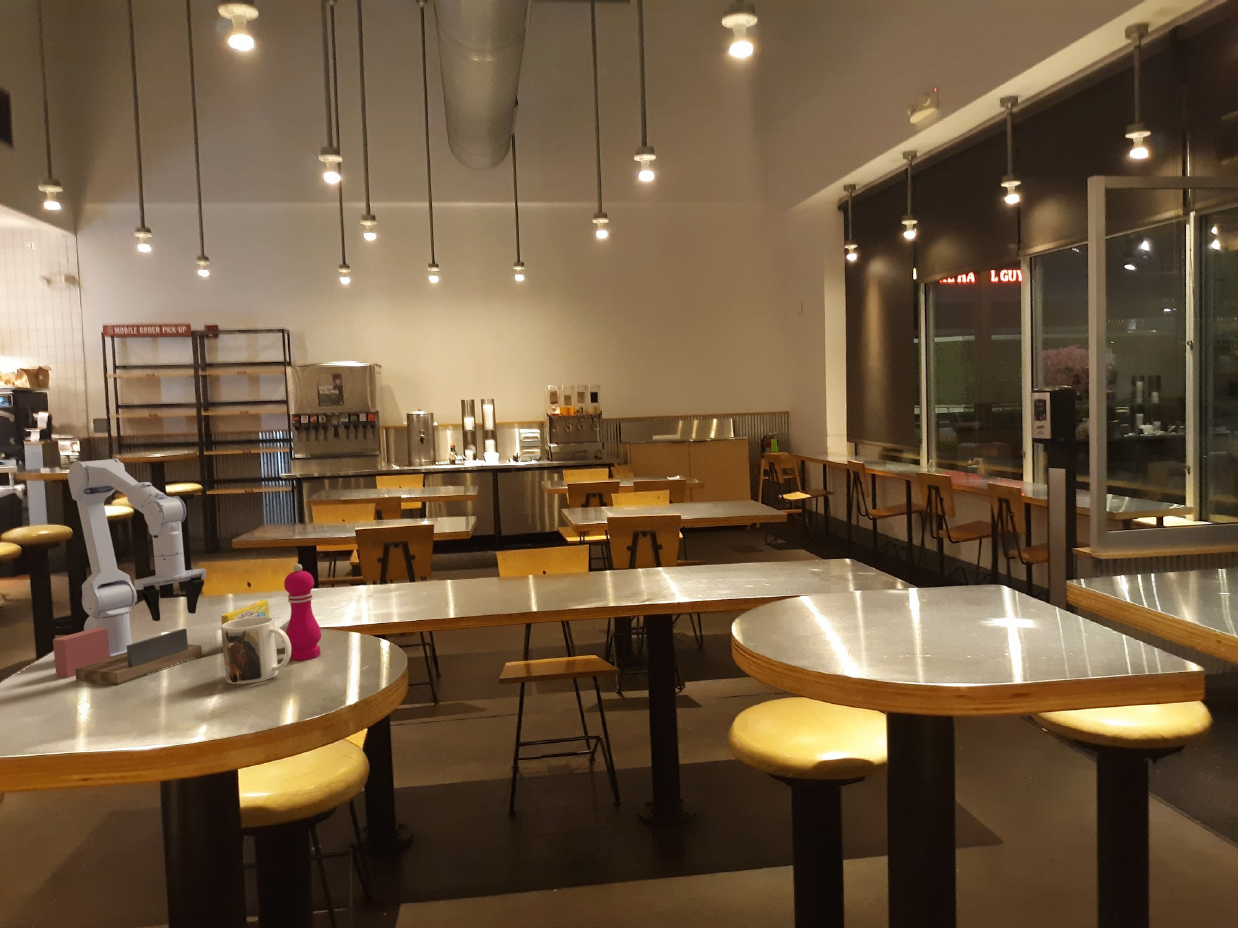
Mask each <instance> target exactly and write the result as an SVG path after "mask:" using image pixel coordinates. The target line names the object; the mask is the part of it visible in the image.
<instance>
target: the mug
mask: <svg viewBox="0 0 1238 928" xmlns="http://www.w3.org/2000/svg"><path fill="white" fill-rule="evenodd" d="M220 631H221V642H222V653H223V663H224V664H223V665H224V675H225V681H227V682H226V683H228V684H233V685H247V683H248V684H255V683H259V682H260V683H261V682H263V681H266V680H270V679H273V678H275V677H276V676H278V674H279V670H280V669H282V668H283V667H285V666H287V664H288V663H289V661H290V660H291V659H290V656H291V649H292V648H291V643H290V640H289V638H288V636H287V634H286V633H285V632H284V631H283V630H282V629H280V627H277V626H275V620H274V618H273V617H270V616H269V617H250V618H243V619H237V620H233V621H230V622H227V623H224V624H223V625H222V624H221V626H220ZM276 635H277V636H278V637H279V638H280V639H281V641H282V640H283V642H284V644H283V645H284V657H283V660H282V661H281V663H279V662H278V653H277V650H278V649H277V640H276ZM283 642H282V643H283ZM278 663H279V664H278Z"/></svg>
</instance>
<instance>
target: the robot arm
mask: <svg viewBox="0 0 1238 928" xmlns="http://www.w3.org/2000/svg"><path fill="white" fill-rule="evenodd" d="M67 480H68V485H69V490H70V494H71V498H72V499H73V501H76V504H77V508H78V513H79V518H80V522H81V523H80V524H81V527H82V531H83V536H84V541H85V542H84V543H85V546H86V552H87V557H88V561H89V565H90V570H91V575H89V576H88V578H87V579H86V580H85V581H84V582H83V583H82V585H81V591H82V592H81V593H82V597H81V604H82V608H83V611H85V613H86V614H87V615H88V617H87V618H86V620H85V623H84V626H83V631H86V630H90V629H94V628H107V631H108V641H109V652H110V658H113V657H116V656H120V655H123V654H126V653H127V646H126V645H130V644H133V641H132V632H131V623H130V621H131V620H130V613H129V612H132V611H133V610H132V608H133V607H134V606H135V604H136V602H137V597H138V596H137V591H138V593H139V595H140V597H141V598H142V599H143V602H145V604H146V607H147V608H148V610H149V613H150V615H151V619H152V621H154V622H160V621H161V613H160V594H161V590H160V589H158V588H157V587H159V586H165V585H170V584H175V583H176V584H177V583H181V582H182V584H183V587H184V590H185V591H184V592H185V597H186V608H187V613H189V614H193V615H194V614H196V612H197V611H196V610H197V604H198V601H199V598H200V597H199V596H200V594H201V592H202V589H203V587H204V585H205V578H207V569H206V568H196V569H189V570H186V565H185V554H184V543H183V542H184V541H183V532H182V530H183V529H182V523H183V522H184V521H185V519H186V517H187V508H186V504H185V503H184V501H183V500H182V499H181V498H180V496H178V495H175V496H167V495H166V494H165V493H164V492H162V491H160V490H159V489H157V488H156V487H155V486H153V483H151V482H150V481H141V482H138V481H137V480H136V479H135V478H134V477H133V476H131V475H130V474H129V473H128V472H127V471H126V467H125V464H124V463H123V462H121V461H120V460H119V459H118V458H113V457H112V458H109V459H101V460H100V459H99V460H97V459H96V460H88V461H86V460H85V461H79V460H78V461H74V462H73V463H72V464H71V465H70V467H69V470H68V473H67ZM116 490H117V491H119V492H120V493H122V494H124V495H126V500H127V502H128V503H129V505H131V506H132V507H133V508H135V509H136V510H138V512H140V513H142V514H143V516H144V521H145V522H146V524H147V526H148V532H149V534H150V535H151V536H152V545H153V547H152V548H153V557H154V558H153V559H154V568H155V569H154V571H155V575H152V576H148V577H147V576H146V577H144V578H139V579H134V580H133V583H132V581H131V577H130V574H128V573H125V572H124V571H123V570H120V569H118V564H117V559H116V555H115V550H114V546H113V541H112V536H111V532H110V527H109V523H108V517H107V513H106V508H105V505H104V504H105V501H106V499H107V498H109V496H112V494H113V493H115V491H116ZM105 584H108V585H105ZM101 585H103V586H101Z"/></svg>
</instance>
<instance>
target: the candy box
mask: <svg viewBox="0 0 1238 928" xmlns="http://www.w3.org/2000/svg"><path fill="white" fill-rule="evenodd" d="M269 609H270V608H269V600H260V601H257V602H254V603H251V604H248V605H246V606H243V607H241V608H238V609H237V608H236V609H235V610H232V611H230V612H227V613H224V614H221V615H220V616H221V618H220V619H221V626H222V625H223V624H224V623H227V622H230V621H233V620H237V619H243V618H250V617H270V610H269Z"/></svg>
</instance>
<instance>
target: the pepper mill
mask: <svg viewBox="0 0 1238 928" xmlns="http://www.w3.org/2000/svg"><path fill="white" fill-rule="evenodd" d="M283 583H284V584H283V586H284V590H285V591H286V592H287V593H288V595H287V598H288V601H287V602H288V603H289V604H290V618H289V620H290V621H289V620H288V621H289V624H288V627H287V630H286V634H287V636H288V638H289V640H290V643H291V656H290V659H289V660H291V661H306V660H308V661H309V660H312V659H315V658H318V657H320V656H321V646H320V645H318V643H319V641H321V639H322V631H321V628H320V626H319V625H320V624H319V623H318V622H317V620H316V618H315V615H314V613H313V608H312V600H313V599H314V597H313V592H312V590H313V588H314V585H315V580H314V578H313V575H312V574H311V573H310V572H308V571H306V570H303V566H302V564H300V563H296V564H294V565H293V571H292V572H291V573H289V574H287V576H286V577H285V579H284V582H283Z"/></svg>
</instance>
